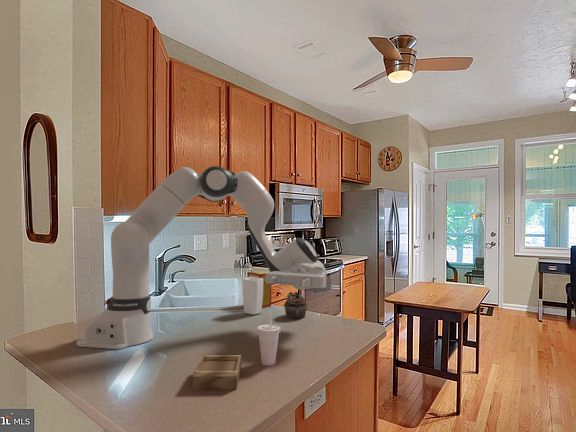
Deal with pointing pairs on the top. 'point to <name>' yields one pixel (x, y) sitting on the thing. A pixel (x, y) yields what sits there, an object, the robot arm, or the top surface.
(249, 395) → the top surface
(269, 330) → the smoothie
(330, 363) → the top surface
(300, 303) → the cupcake
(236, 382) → the wooden tray
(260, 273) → the baking soda box
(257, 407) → the top surface
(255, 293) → the cup
